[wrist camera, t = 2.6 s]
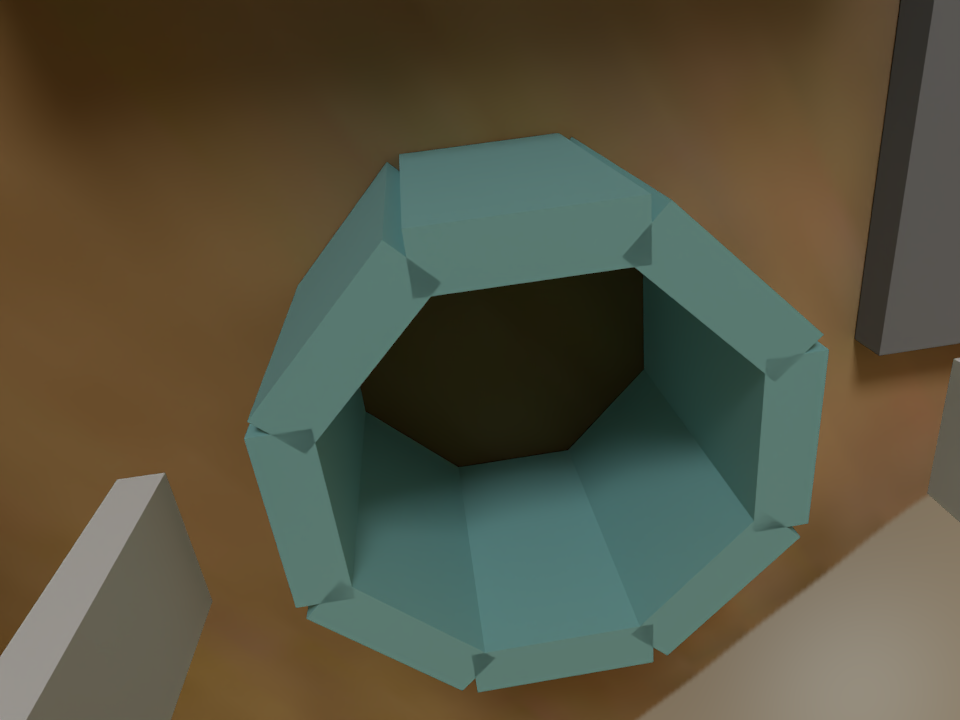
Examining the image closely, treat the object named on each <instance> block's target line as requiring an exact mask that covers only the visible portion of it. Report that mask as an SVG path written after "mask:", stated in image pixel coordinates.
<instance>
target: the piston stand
mask: <svg viewBox="0 0 960 720" xmlns="http://www.w3.org/2000/svg"><path fill="white" fill-rule="evenodd" d="M855 339H856V340H857V341H859V342H860V343H861V344H863V345H864V346H866V347H867V348H869V349H870V350H872V351H873V352H875V353H876V354H878V355H879V356H880V355H886V354H893V353H899V352H906V351H912V350H919V349H925V348H932V347H938V346H945V345H952V344H958V343H960V0H901V5H900V12H899V20H898V27H897V34H896V42H895V49H894V56H893V64H892V71H891V78H890V85H889V93H888V100H887V107H886V115H885V122H884V129H883V137H882V144H881V151H880V159H879V166H878V173H877V181H876V188H875V195H874V203H873V210H872V217H871V225H870V232H869V239H868V247H867V254H866V261H865V268H864V276H863V283H862V290H861V298H860V305H859V312H858V320H857V327H856V334H855Z"/></svg>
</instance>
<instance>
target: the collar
mask: <svg viewBox="0 0 960 720" xmlns="http://www.w3.org/2000/svg"><path fill="white" fill-rule="evenodd" d="M399 165H400V171H398V170H397V169H396V168H394V167H393V166H392V165H390V164H389V163H388V162H386V164H385V165H384V166H383V168H382V169H381V171H380V172H379V173H378V175H377V176H376V178H375V179H374V180H373V182H372V183H371V185H370V186H369V187H368V189H367V190H366V192H365V193H364V194H363V196H362V197H361V199H360V200H359V201H358V203H357V204H356V205H355V207H354V208H353V210H352V211H351V212H350V214H349V215H348V217H347V218H346V219H345V221H344V222H343V224H342V225H341V226H340V228H339V229H338V231H337V232H336V233H335V235H334V236H333V238H332V239H331V240H330V242H329V243H328V244H327V246H326V247H325V249H324V250H323V251H322V253H321V254H320V256H319V257H318V258H317V260H316V261H315V263H314V264H313V265H312V267H311V268H310V270H309V271H308V272H307V274H306V275H305V277H304V278H303V279H302V281H301V282H300V283H299V285H298V287H297V290H296V292H295V295H294V298H293V300H292V303H291V306H290V308H289V311H288V314H287V316H286V319H285V322H284V324H283V327H282V330H281V333H280V335H279V338H278V341H277V343H276V346H275V349H274V351H273V354H272V357H271V359H270V362H269V365H268V367H267V370H266V373H265V375H264V378H263V381H262V383H261V386H260V389H259V391H258V394H257V397H256V399H255V402H254V405H253V407H252V410H251V413H250V415H249V418H248V421H247V422H249V423H250V424H249V427H248V430H247V433H246V435H245V438H244V440H245V443H246V447H247V450H248V453H249V456H250V460H251V463H252V466H253V469H254V473H255V476H256V479H257V482H258V486H259V489H260V492H261V495H262V499H263V502H264V505H265V508H266V512H267V515H268V518H269V521H270V525H271V528H272V531H273V534H274V538H275V541H276V544H277V547H278V551H279V554H280V557H281V560H282V564H283V567H284V570H285V573H286V577H287V580H288V583H289V586H290V590H291V593H292V596H293V599H294V603H295V606H296V608H298V607H304V606H308V612H307V619H308V620H310V621H313V622H315V623H317V624H319V625H321V626H323V627H326V628H328V629H330V630H332V631H334V632H336V633H339V634H341V635H343V636H345V637H347V638H349V639H352V640H354V641H356V642H358V643H360V644H362V645H365V646H367V647H369V648H371V649H373V650H375V651H378V652H380V653H382V654H384V655H386V656H388V657H390V658H393V659H395V660H397V661H399V662H401V663H403V664H406V665H408V666H410V667H412V668H414V669H416V670H419V671H421V672H423V673H425V674H427V675H429V676H432V677H434V678H436V679H438V680H440V681H442V682H445V683H447V684H449V685H451V686H453V687H455V688H458V689H460V690H462V691H463V690H464V689H465V688H466V687H467V686H468V685H469V684H470V683H471V682H472V681H473V680H474V679H475V678H476V684H477V691H478V692H483V691H489V690H495V689H501V688H506V687H512V686H518V685H524V684H530V683H535V682H541V681H547V680H553V679H559V678H564V677H570V676H576V675H582V674H587V673H593V672H599V671H605V670H611V669H616V668H622V667H628V666H634V665H640V664H645V663H651V662H653V648H655V649H657V650H659V651H661V652H662V653H664V654H666V655H669V654H670V653H671V652H672V651H673V650H674V649H675V648H676V647H677V646H679V645H680V644H681V643H682V642H683V641H684V640H685V639H686V638H688V637H689V636H690V635H691V634H692V633H693V632H694V631H695V630H697V629H698V628H699V627H700V626H701V625H702V624H703V623H704V622H706V621H707V620H708V619H709V618H710V617H711V616H712V615H713V614H714V613H716V612H717V611H718V610H719V609H720V608H721V607H722V606H723V605H725V604H726V603H727V602H728V601H729V600H730V599H731V598H732V597H734V596H735V595H736V594H737V593H738V592H739V591H740V590H741V589H743V588H744V587H745V586H746V585H747V584H748V583H749V582H750V581H752V580H753V579H754V578H755V577H756V576H757V575H758V574H759V573H760V572H762V571H763V570H764V569H765V568H766V567H767V566H768V565H769V564H771V563H772V562H773V561H774V560H775V559H776V558H777V557H778V556H780V555H781V554H782V553H783V552H784V551H785V550H786V549H787V548H789V547H790V546H791V545H792V544H793V543H794V542H795V541H796V540H797V539H799V538H800V536H799V535H798V533H797V532H796V531H795V530H794V528H793V527H792V526H796V525H802V524H808V521H809V512H810V504H811V496H812V487H813V479H814V471H815V462H816V454H817V446H818V437H819V429H820V420H821V412H822V404H823V395H824V387H825V379H826V370H827V362H828V354H829V350H828V349H827V348H826V347H824V346H823V345H822V344H820V343H819V342H818V340H819V339H820V338H821V337H822V336H823V335H824V334H822V333H821V332H820V331H819V330H818V329H817V328H816V327H814V326H813V325H812V324H811V323H810V322H809V321H808V320H807V319H805V318H804V317H803V316H802V315H801V314H800V313H799V312H798V311H796V310H795V309H794V308H793V307H792V306H791V305H790V304H789V303H787V302H786V301H785V300H784V299H783V298H782V297H781V296H780V295H778V294H777V293H776V292H775V291H774V290H773V289H772V288H770V287H769V286H768V285H767V284H766V283H765V282H764V281H763V280H761V279H760V278H759V277H758V276H757V275H756V274H755V273H754V272H752V271H751V270H750V269H749V268H748V267H747V266H746V265H745V264H743V263H742V262H741V261H740V260H739V259H738V258H737V257H735V256H734V255H733V254H732V253H731V252H730V251H729V250H728V249H726V248H725V247H724V246H723V245H722V244H721V243H720V242H719V241H717V240H716V239H715V238H714V237H713V236H712V235H711V234H710V233H708V232H707V231H706V230H705V229H704V228H703V227H702V226H701V225H699V224H698V223H697V222H696V221H695V220H694V219H693V218H691V217H690V216H689V215H688V214H687V213H686V212H685V211H684V210H682V209H681V208H680V207H679V206H678V205H677V204H676V203H675V202H673V201H672V200H671V199H669V198H668V197H666V196H665V195H663V194H661V193H660V192H658V191H657V190H655V189H654V188H652V187H650V186H649V185H647V184H646V183H644V182H642V181H641V180H639V179H638V178H636V177H635V176H633V175H631V174H630V173H628V172H627V171H625V170H623V169H622V168H620V167H619V166H617V165H615V164H614V163H612V162H611V161H609V160H608V159H606V158H604V157H603V156H601V155H600V154H598V153H596V152H595V151H593V150H592V149H590V148H589V147H587V146H585V145H584V144H582V143H581V142H579V141H577V140H576V139H574V138H573V137H571V139H570V140H568V139H567V138H565V137H564V136H562V135H561V134H559V133H555V134H548V135H540V136H533V137H525V138H518V139H510V140H503V141H495V142H488V143H480V144H473V145H466V146H458V147H451V148H443V149H436V150H428V151H421V152H413V153H406V154H399ZM631 267H635V268H636V269H637V270H639V271H640V272H641V273H642V274H643V327H644V370H643V371H642V372H641V373H640V374H639V375H638V376H637V377H636V378H635V379H634V380H633V381H632V382H631V383H630V385H629V386H628V387H627V388H626V389H625V390H624V391H623V392H622V393H621V394H620V395H619V396H618V397H617V398H616V400H615V401H614V402H613V403H612V404H611V405H610V406H609V407H608V408H607V409H606V410H605V411H604V412H603V413H602V414H601V416H600V417H599V418H598V419H597V420H596V421H595V422H594V423H593V424H592V425H591V426H590V427H589V428H588V429H587V431H586V432H585V433H584V434H583V435H582V436H581V437H580V438H579V439H578V440H577V441H576V442H575V443H574V444H573V445H572V447H571V448H570V449H569V450H566V451H560V452H553V453H547V454H540V455H534V456H528V457H521V458H515V459H509V460H502V461H496V462H489V463H483V464H477V465H470V466H464V467H457V466H456V465H454V464H452V463H451V462H449V461H447V460H446V459H444V458H442V457H441V456H439V455H437V454H436V453H434V452H432V451H431V450H429V449H427V448H426V447H424V446H422V445H421V444H419V443H417V442H416V441H414V440H412V439H411V438H409V437H407V436H406V435H404V434H402V433H401V432H399V431H397V430H396V429H394V428H392V427H391V426H389V425H387V424H386V423H384V422H382V421H381V420H379V419H377V418H376V417H374V416H372V415H371V414H369V413H367V412H366V411H365V407H364V402H363V397H362V392H361V388H360V386H361V384H362V383H363V382H364V380H365V379H366V378H367V377H368V375H369V374H370V373H371V372H372V370H373V369H374V368H375V367H376V365H377V364H378V363H379V361H380V360H381V359H382V358H383V356H384V355H385V354H386V353H387V351H388V350H389V349H390V348H391V346H392V345H393V344H394V342H395V341H396V340H397V339H398V337H399V336H400V335H401V334H402V332H403V331H404V330H405V329H406V327H407V326H408V325H409V324H410V322H411V321H412V320H413V318H414V317H415V316H416V315H417V313H418V312H419V311H420V310H421V308H422V307H423V306H424V305H425V303H426V302H427V301H428V299H429V298H430V297H431V296H437V295H444V294H451V293H458V292H465V291H472V290H479V289H486V288H493V287H500V286H507V285H514V284H520V283H527V282H534V281H541V280H548V279H555V278H562V277H569V276H576V275H583V274H590V273H597V272H604V271H611V270H618V269H625V268H631Z"/></svg>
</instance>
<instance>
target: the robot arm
mask: <svg viewBox="0 0 960 720" xmlns="http://www.w3.org/2000/svg"><path fill="white" fill-rule="evenodd" d="M927 494H929V495H930V496H931V497H932V498H933V499H934V500H935V501H937V502H938V503H939V504H940V505H941V506H942V507H943V508H944V509H946V510H947V511H948V512H949V513H950V514H951V515H952V516H954V517H955V518H956V519H957V520H958V521H959V522H960V358H955V359H953V364H952V370H951V375H950V380H949V385H948V390H947V395H946V400H945V405H944V410H943V416H942V421H941V426H940V431H939V436H938V441H937V446H936V451H935V456H934V462H933V467H932V472H931V477H930V482H929V487H928V492H927ZM211 604H212V599H211V596H210V594H209V591H208V588H207V585H206V583H205V580H204V577H203V574H202V572H201V569H200V566H199V564H198V561H197V558H196V555H195V553H194V550H193V547H192V545H191V542H190V539H189V536H188V534H187V531H186V528H185V525H184V523H183V520H182V517H181V515H180V512H179V509H178V506H177V504H176V501H175V498H174V496H173V493H172V490H171V487H170V485H169V482H168V479H167V476H166V474H165V473H160V474H153V475H146V476H139V477H132V478H125V479H118V480H117V481H116V482H115V484H114V485H113V487H112V488H111V490H110V491H109V493H108V494H107V496H106V497H105V499H104V500H103V502H102V503H101V505H100V506H99V508H98V509H97V511H96V513H95V514H94V516H93V517H92V519H91V520H90V522H89V523H88V525H87V526H86V528H85V529H84V531H83V532H82V534H81V535H80V537H79V538H78V540H77V541H76V543H75V544H74V546H73V547H72V549H71V550H70V552H69V553H68V555H67V556H66V558H65V559H64V561H63V562H62V564H61V565H60V567H59V568H58V570H57V572H56V573H55V575H54V576H53V578H52V579H51V581H50V582H49V584H48V585H47V587H46V588H45V590H44V591H43V593H42V594H41V596H40V597H39V599H38V600H37V602H36V603H35V605H34V606H33V608H32V609H31V611H30V612H29V614H28V615H27V617H26V618H25V620H24V621H23V623H22V624H21V626H20V628H19V629H18V631H17V632H16V634H15V635H14V637H13V638H12V640H11V641H10V643H9V644H8V646H7V647H6V649H5V650H4V652H3V653H2V655H1V656H0V720H171V718H172V715H173V712H174V709H175V706H176V703H177V700H178V698H179V695H180V692H181V689H182V686H183V683H184V680H185V678H186V675H187V672H188V669H189V666H190V663H191V661H192V658H193V655H194V652H195V649H196V646H197V643H198V641H199V638H200V635H201V632H202V629H203V626H204V623H205V621H206V618H207V615H208V612H209V609H210V606H211Z"/></svg>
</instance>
